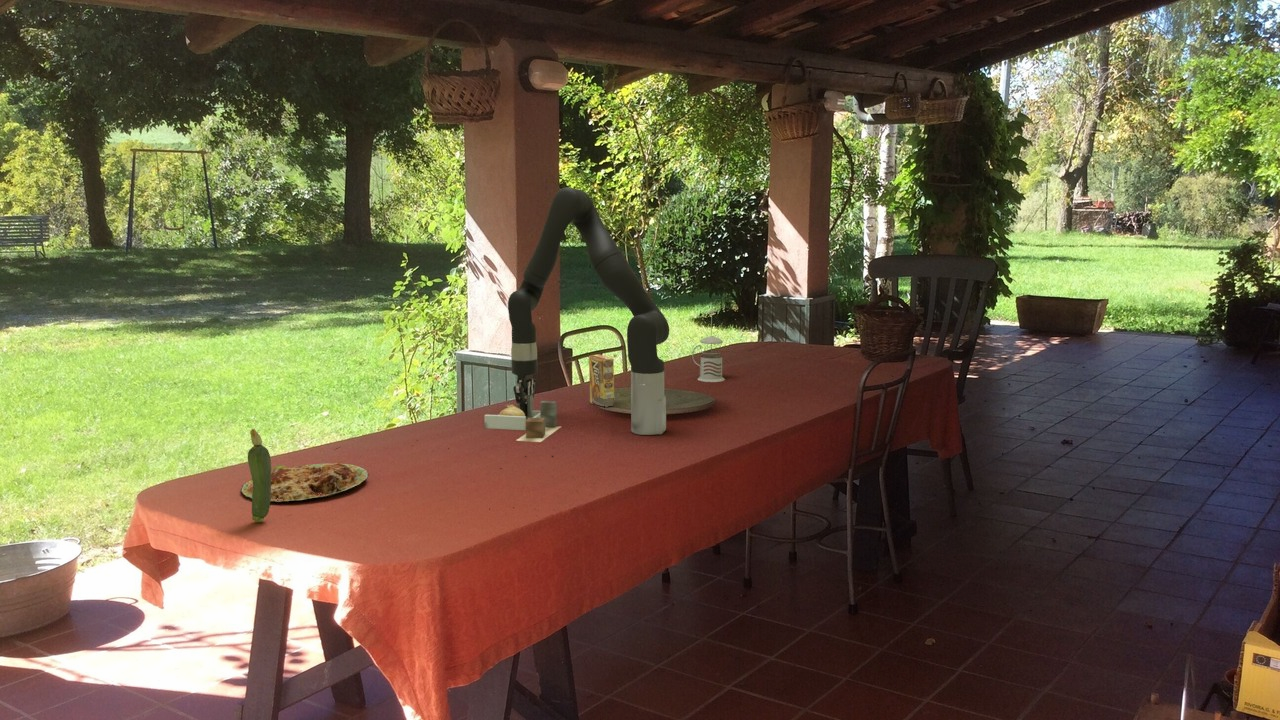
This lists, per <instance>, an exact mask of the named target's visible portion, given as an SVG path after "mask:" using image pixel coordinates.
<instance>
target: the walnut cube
mask: <svg viewBox="0 0 1280 720" xmlns="http://www.w3.org/2000/svg"><path fill="white" fill-rule="evenodd" d="M525 434H526V438H543V437H544V435H545V418H528V419H526V430H525Z"/></svg>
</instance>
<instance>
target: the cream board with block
mask: <svg viewBox="0 0 1280 720" xmlns="http://www.w3.org/2000/svg"><path fill="white" fill-rule="evenodd" d="M539 403H540V405H539V407H540V408H539V411H540V417H541V418H545V435H544V437H543V438H526V433H524V434H523V435H521V436H520V437H519V438H517V439H516V440H515V441H518V442H528V443H529V442H531V443H541V442H543V441H544V440H546V439H547V438H548V437H550V436H551V435H552V434H554V433H556V431H558V430H560V429H561V428H562V426H560V425H559V426H558V423H557V422H558V416H557V415H558V413H557V411H558V410H557V408H558V407H557V405H558V404H557V401H556V400H555V401H553V400H542V401H540V402H539Z"/></svg>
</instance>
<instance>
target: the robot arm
mask: <svg viewBox="0 0 1280 720" xmlns="http://www.w3.org/2000/svg"><path fill="white" fill-rule="evenodd" d="M570 223H572V225H573V226H574V227H575V228H576V230H577V231H578V233H579V234H580V236H581V237H582V239H583V240H584V243H585V246H586V249H587V255H588V259H589V261H590V265H591V267H592V269H593V270H594V272H595V274H596V275H597V277H598V279H599V280H600V282H601V283H602V285H603V286H604V287H605V288H606V289H607V290H608V291H609V292H610V293H611V294H612V295H614V296H615V297H616V298H617V299H619V300H620V301H621V302H622V303H623V304H625V306H626V307H627V309H629V311H630V312H631V314H632V315H633V317H632V318H631V319H630V320H629V323H628V324H627V327H626V329H627V330H626V344H627V345H626V347H627V359H628V362H629V364H630V395H631V396H630V401H631V402H630V416H631V422H630V427H631V433H633V434H635V435H642V436H644V435H646V436H652V435H653V436H655V435H662V434H663V433H664V432H665V431H666V430H667V397H666V396H665V362H664V360H663V359H661V358H659V355H658V348H657V346H658V345H661V344H663V343H664V342H665V343H666V341H667V340H668V339H669V335H670V326H669V325H670V324H669V323H668V320H667V318H666V317H665V315H664V314H663V313H662V311H661V310H660V308H659V307H658V306H657V305H656V304H655V302H654V301H653V299H652V298H651V297H650V295H649V293H647V291H646V290H645V288H644V286H643V284H642V283H641V282H640V280H639V278H638V277H637V275H636V274H635V272H634V270H633V269H632V267H631V265H630V263H629V261H628V260H627V258H626V256H625V254H623V252H622V250H621V249H620V247H619V246H618V245H617V243H616V241H615V240H614V238H613V236H612V234H611V233H610V232H609V231H608V229H607V228H606V226H605V224H604V223H603V220H602V219H601V217H600V215H599V212H598V210H597V208H596V206H595V203H594V201H593V200H592V198H591V197H590V195H589V194H588V193H587V192H585V191H584V190H581V189H578V188H575V187H569V186H568V187H562V188H560V189H559V190H558V191H556V193H555V195H554V196H553V199H552V201H551V205H550V207H549V210H548V215H547V217H546V221H545V222H544V226H543V230H542V231H541V232H542V233H540V234H541V235H540V237H539V240H538V242H537V245H536V247H535V250H534V251H533V254H532V255H531V258H530V260H529V261H528V263H527V266H526V268H525V270H524V272H523V275H522V276H523V280H522V282H521V284H520V287H519V289H518V290H515V291H513V292H512V293H511V294H510V295H509V298H508V300H507V312H508V317H509V321H510V325H511V348H510V349H511V350H510V351H511V352H510V353H511V354H510V355H511V356H510V357H511V358H510V360H511V363H510V364H511V374H512V375H516V376H517V378H516V381H515V382H516V383H515V384H516V385H513V393H514V398H515V402H516V404H517V403H519V404H520V409H521V410H522V411H523V412H524V414H525V416H526V417H527V416H528V404H527V403H528V396H529V395H533V399H534V398H535V392H536V384H537V379H536V378H533V375H536V374H537V373H538V347H537V330H536V325H535V323H534V322H533V319H532V318H533V317H532V312H533V310H535V309H536V307H537V306H538V304H539V303H540V300H541V297H542V294H543V292H544V289H545V286H546V284H547V282H548V280H549V279H550V276H551V274H552V272H553V270H554V267H555V266H556V263H557V261H558V260H557V259H558V255H559V250H560V245H561V241H562V238H563V235H564V233H565V231H566V230H567V228H568V226H569V225H570ZM521 398H522V399H521Z"/></svg>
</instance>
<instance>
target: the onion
mask: <svg viewBox="0 0 1280 720" xmlns="http://www.w3.org/2000/svg"><path fill="white" fill-rule="evenodd" d="M504 407H505V408H504V409H502V410H501V411H500V412H499V415H505V416H525V414H524V412H523V411H522V410H521V409H519V408H518V406H515V405H514V404H504Z"/></svg>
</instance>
